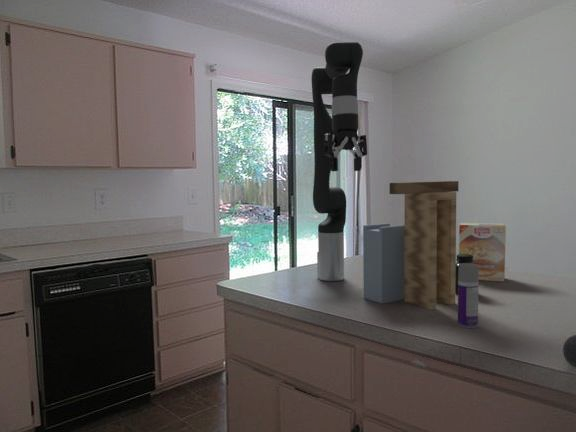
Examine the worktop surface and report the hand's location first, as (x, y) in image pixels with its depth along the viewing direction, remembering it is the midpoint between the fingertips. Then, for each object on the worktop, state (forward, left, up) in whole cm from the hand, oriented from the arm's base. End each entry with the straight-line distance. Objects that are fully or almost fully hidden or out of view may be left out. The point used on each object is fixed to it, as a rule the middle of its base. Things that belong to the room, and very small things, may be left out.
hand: (346, 171), depth 131 cm
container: (+33, +11, -39) cm, 52 cm away
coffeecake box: (+3, +58, -39) cm, 70 cm away
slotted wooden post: (+14, +19, -39) cm, 45 cm away
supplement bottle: (+13, +36, -39) cm, 55 cm away
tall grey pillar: (+3, +12, -39) cm, 41 cm away
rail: (+14, +17, -7) cm, 23 cm away
